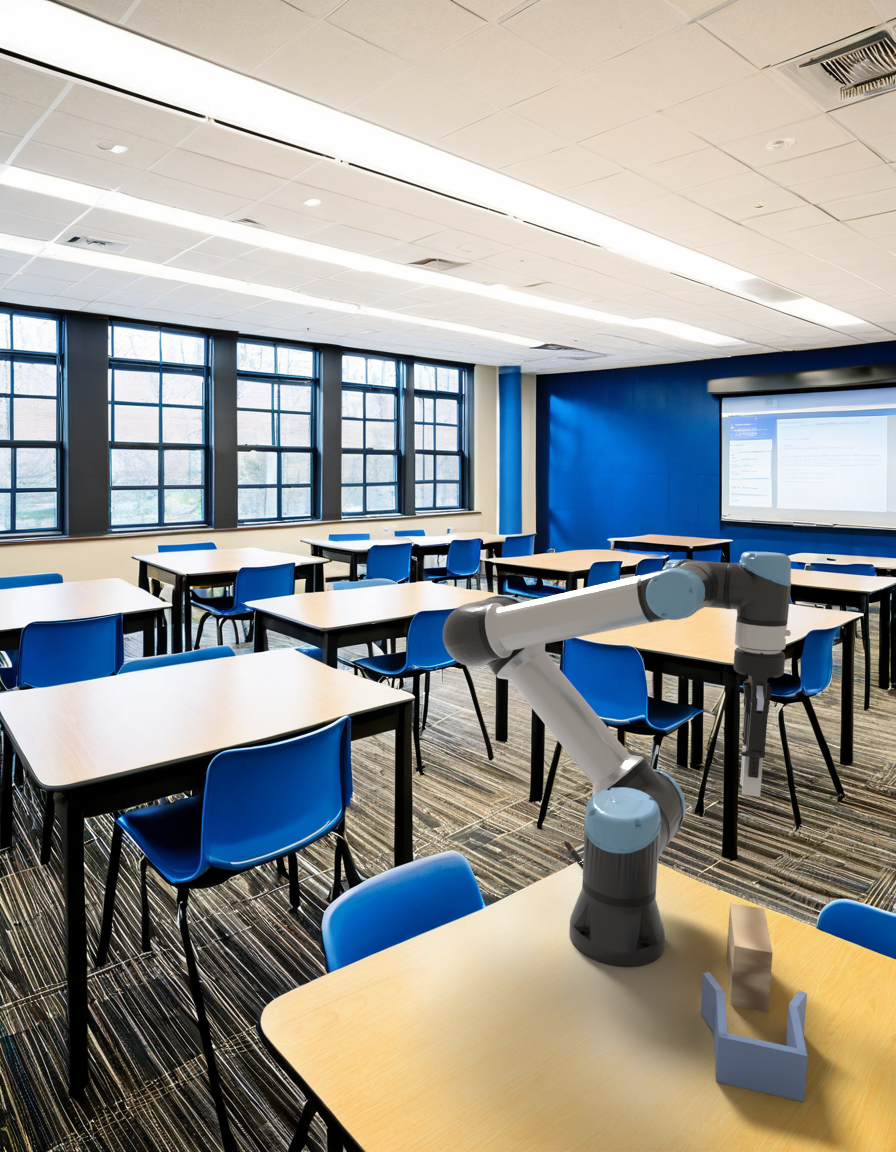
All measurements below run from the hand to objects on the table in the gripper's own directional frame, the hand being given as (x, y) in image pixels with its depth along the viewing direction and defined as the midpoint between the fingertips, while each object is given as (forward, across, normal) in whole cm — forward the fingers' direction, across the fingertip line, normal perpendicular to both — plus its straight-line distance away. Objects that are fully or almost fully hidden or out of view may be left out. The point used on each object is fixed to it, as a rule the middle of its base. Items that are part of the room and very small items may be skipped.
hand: (750, 789), depth 125 cm
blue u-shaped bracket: (+25, -29, 0) cm, 38 cm away
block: (+25, -14, 0) cm, 28 cm away
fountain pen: (+25, +16, +29) cm, 42 cm away
